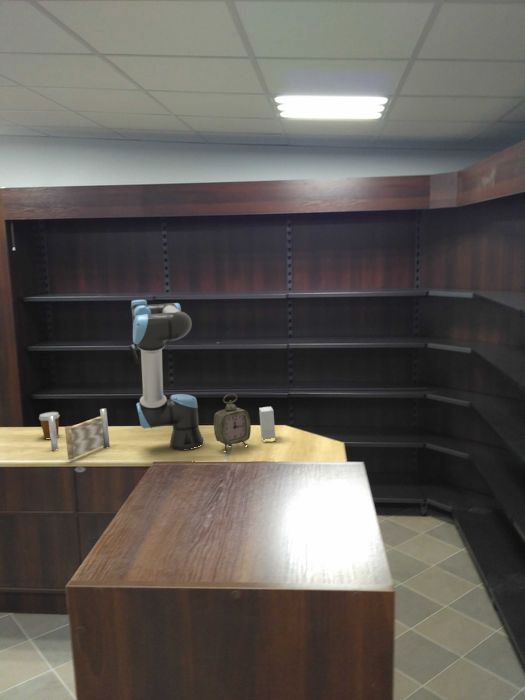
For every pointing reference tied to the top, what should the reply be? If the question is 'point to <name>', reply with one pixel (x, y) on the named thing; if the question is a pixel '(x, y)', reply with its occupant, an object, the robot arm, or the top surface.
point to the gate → (84, 437)
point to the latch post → (53, 432)
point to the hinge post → (105, 427)
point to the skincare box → (267, 423)
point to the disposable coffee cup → (45, 422)
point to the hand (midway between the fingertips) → (145, 377)
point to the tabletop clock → (232, 424)
